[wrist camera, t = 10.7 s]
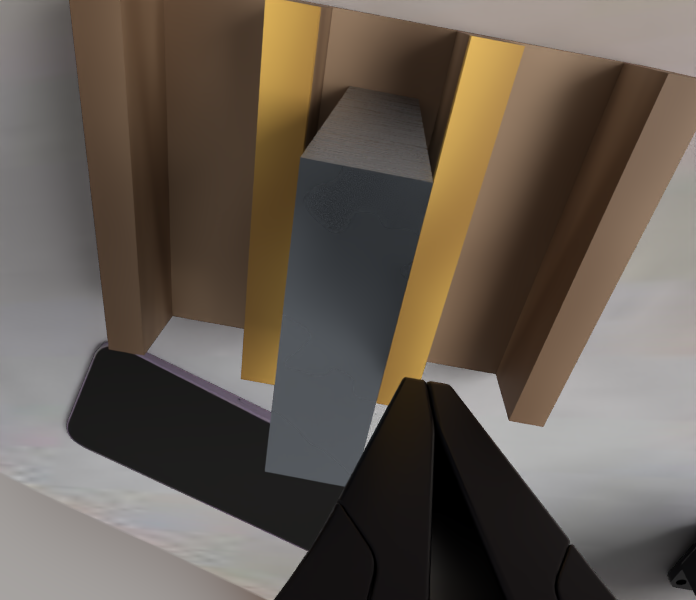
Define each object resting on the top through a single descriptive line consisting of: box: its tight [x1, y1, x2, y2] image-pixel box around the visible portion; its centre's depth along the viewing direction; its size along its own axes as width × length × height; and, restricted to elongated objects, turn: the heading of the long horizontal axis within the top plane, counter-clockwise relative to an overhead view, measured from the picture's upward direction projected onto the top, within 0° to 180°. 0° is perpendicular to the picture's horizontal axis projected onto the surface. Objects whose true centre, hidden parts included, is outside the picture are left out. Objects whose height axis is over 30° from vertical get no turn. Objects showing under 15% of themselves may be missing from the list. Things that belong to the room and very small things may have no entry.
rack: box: [69, 0, 696, 427], centre depth 15 cm, size 15×11×4 cm
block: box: [265, 86, 433, 487], centre depth 12 cm, size 2×7×8 cm, turn 171°
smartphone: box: [66, 342, 344, 551], centre depth 24 cm, size 7×1×15 cm
